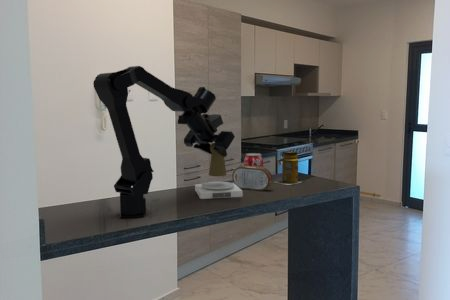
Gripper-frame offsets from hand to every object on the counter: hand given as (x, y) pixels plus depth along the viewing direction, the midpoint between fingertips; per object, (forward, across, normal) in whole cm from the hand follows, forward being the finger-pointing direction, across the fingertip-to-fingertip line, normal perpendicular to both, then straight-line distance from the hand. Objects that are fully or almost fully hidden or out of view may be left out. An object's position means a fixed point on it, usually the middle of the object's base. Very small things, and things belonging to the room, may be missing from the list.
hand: (220, 155), depth 140 cm
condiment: (+31, -8, -12) cm, 34 cm away
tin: (+18, -5, +1) cm, 18 cm away
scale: (+8, 0, +10) cm, 13 cm away
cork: (+4, 0, +6) cm, 7 cm away
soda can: (+21, -2, -2) cm, 21 cm away
